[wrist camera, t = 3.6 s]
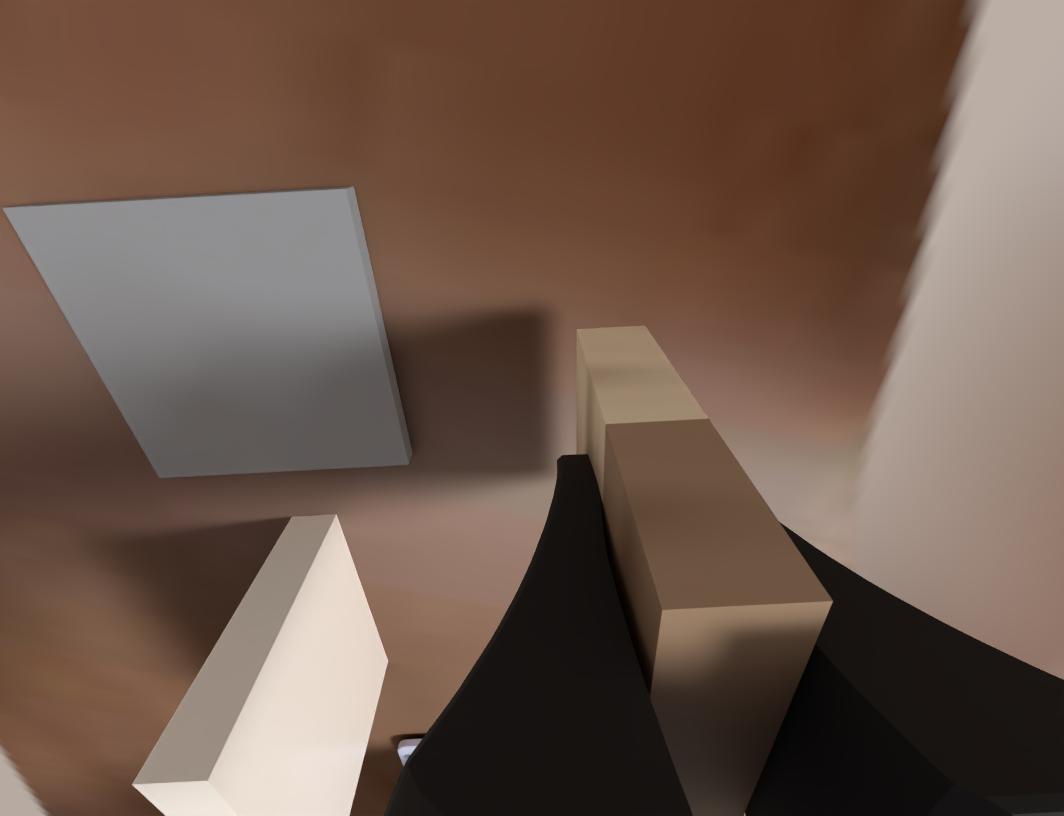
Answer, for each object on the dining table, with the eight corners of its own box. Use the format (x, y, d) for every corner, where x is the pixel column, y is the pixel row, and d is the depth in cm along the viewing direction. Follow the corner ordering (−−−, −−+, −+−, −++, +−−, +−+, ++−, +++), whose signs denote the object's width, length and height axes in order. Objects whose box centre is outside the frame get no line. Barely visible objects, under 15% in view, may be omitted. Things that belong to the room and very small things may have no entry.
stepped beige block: (630, 517, 14) (728, 850, 7) (576, 520, 14) (627, 856, 7) (644, 325, 11) (832, 601, 4) (576, 329, 11) (662, 609, 4)
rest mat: (412, 453, 15) (409, 464, 15) (171, 466, 15) (159, 478, 15) (353, 186, 11) (345, 188, 11) (26, 204, 11) (2, 208, 11)
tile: (388, 660, 21) (324, 913, 14) (350, 661, 21) (268, 915, 14) (336, 513, 17) (207, 780, 10) (288, 516, 17) (125, 784, 10)
